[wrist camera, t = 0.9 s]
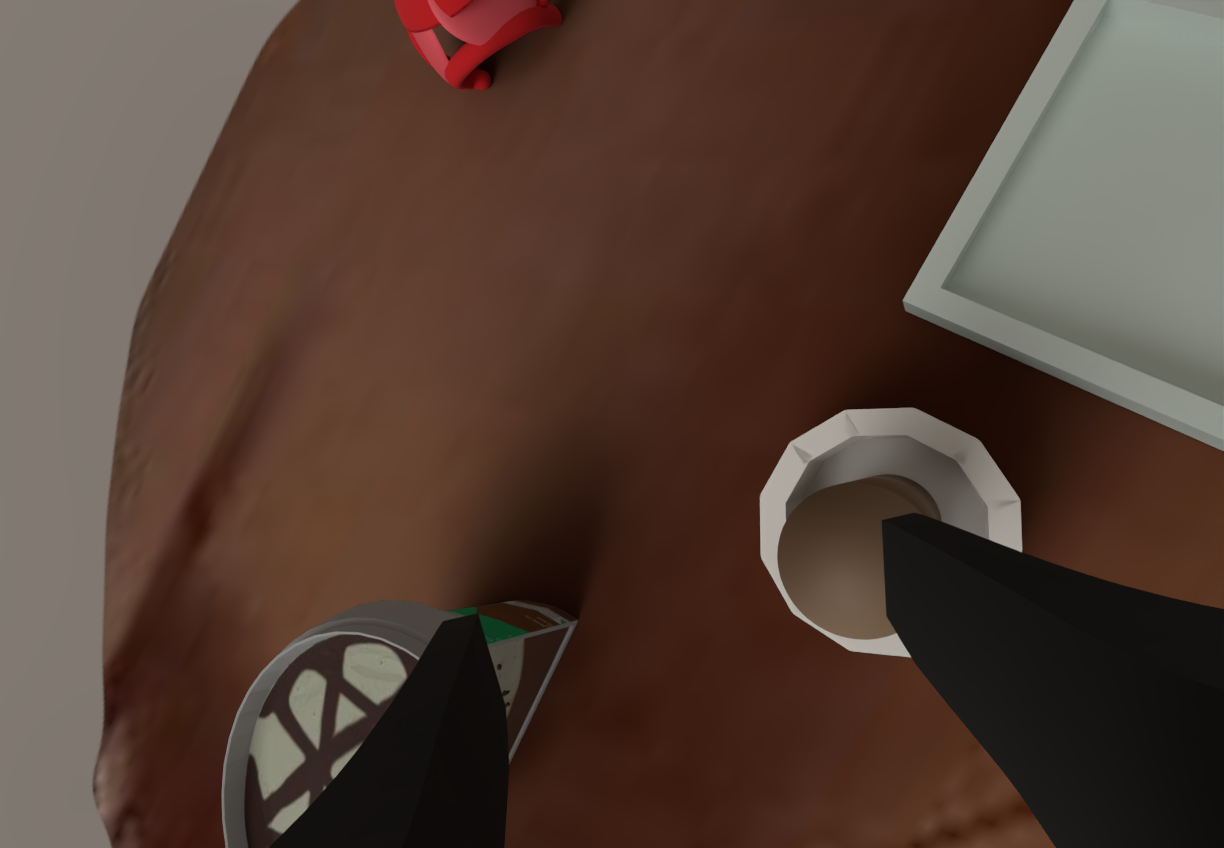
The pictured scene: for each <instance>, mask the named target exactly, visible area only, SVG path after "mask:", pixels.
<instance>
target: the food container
mask: <svg viewBox="0 0 1224 848" xmlns="http://www.w3.org/2000/svg"><path fill="white" fill-rule="evenodd" d="M476 613H478V614H479V618H480V621H481V625H482V628H483V631H484V635H485V638H486V641H487V645H488V648H489V652H490V655H491V658H492V662H493V665H494V668H495V672H496V675H497V678H498V682H499V685H500V689H501V692H502V695H503V699H504V702H505V705H506V716H507V731H508V748H509V764H510V762H511V760H512V758H513V756H514V754H515V752H516V750H517V748H518V746H519V743H520V741H521V739H522V737H523V735H524V733H525V731H526V729H527V727H528V725H529V723H530V720H531V718H532V716H533V714H534V712H535V710H536V708H537V706H538V704H539V702H540V700H541V697H542V695H543V693H544V691H545V689H546V687H547V685H548V683H549V681H550V679H551V677H552V674H553V672H554V670H555V668H556V666H557V664H558V662H559V660H560V658H561V656H562V654H563V651H564V649H565V647H566V645H567V643H568V641H569V639H570V637H571V635H572V633H573V631H574V628H575V626H576V624H577V622H578V619H577V618H575V617H573V616H571V615H570V614H568V613H566V612H564V611H563V610H561V609H559V608H557V607H556V606H551V605H547V604H543V603H538V602H534V601H529V600H525V599H522V600H515V601H508V602H501V603H494V604H487V605H481V606H475V607H468V608H462V609H455V610H449V611H441V610H439V609H436V608H434V607H431V606H428V605H424V604H419V603H414V602H409V601H392V600H381V601H376V602H371V603H366V604H361V605H358V606H355V607H353V608H351V609H348V610H346V611H344V612H341V613H339V614H337V615H335V616H334V617H332V618H330V619H328V620H326V621H325V622H323V623H321V624H319V625H317V626H316V627H314V628H312V629H310V630H309V631H307V632H306V633H304V634H303V635H301V636H300V637H298V638H297V639H295V640H294V641H292V642H291V643H290V644H289V645H288V646H287V647H286V648H285V649H284V650H283V651H282V652H281V653H280V654H279V655H278V656H276V657H275V658H274V659H273V660H272V661H271V662H270V663H269V664H268V666H267V667H266V668H265V669H264V670H263V671H262V672H261V673H260V674H259V676H258V677H257V679H256V680H255V682H254V683H253V684H252V686H251V687H250V689H249V690H248V692H247V694H246V696H245V698H244V700H243V702H242V704H241V706H240V708H239V710H238V712H237V715H236V718H235V721H234V724H233V727H232V730H231V733H230V736H229V740H228V746H227V751H226V756H225V761H224V769H223V781H222V821H223V829H224V837H225V845H226V848H269V847H270V846H271V845H272V844H273V843H274V842H275V841H276V840H277V839H278V838H279V837H280V836H281V835H282V834H283V833H284V832H285V831H286V830H287V829H288V828H289V827H290V826H291V825H292V824H293V823H294V822H295V821H296V820H297V819H298V818H299V817H300V816H301V815H302V814H303V813H304V812H305V811H306V809H307V808H308V807H309V806H310V805H311V804H312V803H313V802H314V801H315V800H316V799H317V797H318V796H319V795H320V794H321V793H322V792H323V791H324V789H325V788H326V787H327V786H328V785H329V784H330V783H331V781H332V780H333V779H334V778H335V777H336V776H337V775H338V773H339V772H340V771H341V770H342V769H343V767H344V766H345V765H346V764H347V762H348V761H349V760H350V759H351V757H352V756H353V755H354V754H355V752H356V751H357V750H358V748H359V747H360V746H361V744H362V743H363V742H364V740H365V739H366V737H367V736H368V735H369V733H370V732H371V731H372V729H373V728H374V727H375V725H376V724H377V722H378V721H379V720H380V718H381V717H382V715H383V714H384V713H385V711H386V710H387V708H388V707H389V705H390V704H391V702H392V701H393V699H394V697H395V696H396V694H397V693H398V691H399V690H400V688H401V687H402V685H403V684H404V682H405V681H406V679H407V678H408V676H409V674H410V673H411V671H412V670H413V668H414V666H415V665H416V663H417V662H418V660H419V658H420V657H421V655H422V653H423V652H424V650H425V648H426V647H427V645H428V643H429V642H430V640H431V639H432V637H433V635H434V634H435V632H436V631H437V629H438V627H439V626H440V625H441V623H442V622H443V621H445V620H450V619H454V618H459V617H463V616H467V615H472V614H476Z"/></svg>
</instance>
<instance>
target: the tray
mask: <svg viewBox="0 0 1224 848" xmlns="http://www.w3.org/2000/svg"><path fill="white" fill-rule="evenodd" d="M903 304H904V307H905V311H906V312H909V313H911V314H913V315H915V316H918V317H920V318H922V319H925V320H927V321H929V322H931V323H934V324H936V325H938V326H940V327H943V328H945V329H947V330H950V331H952V332H954V333H956V334H959V335H961V336H963V337H965V338H968V339H970V340H972V341H975V342H977V343H979V344H981V345H984V346H986V347H988V348H990V349H993V350H995V351H997V352H999V353H1002V354H1004V355H1006V356H1009V357H1011V358H1013V359H1015V360H1018V361H1020V362H1022V363H1024V364H1027V365H1029V366H1031V367H1034V368H1036V369H1038V370H1040V371H1043V372H1045V373H1047V374H1049V375H1052V376H1054V377H1056V378H1059V379H1061V380H1063V381H1065V382H1068V383H1070V384H1072V385H1074V386H1077V387H1079V388H1081V389H1083V390H1086V391H1088V392H1090V393H1093V394H1095V395H1097V396H1099V397H1102V398H1104V399H1106V400H1108V401H1111V402H1113V403H1115V404H1118V405H1120V406H1122V407H1124V408H1127V409H1129V410H1131V411H1133V412H1136V413H1138V414H1140V415H1142V416H1145V417H1147V418H1149V419H1152V420H1154V421H1156V422H1158V423H1161V424H1163V425H1165V426H1167V427H1170V428H1172V429H1174V430H1177V431H1179V432H1181V433H1183V434H1186V435H1188V436H1190V437H1192V438H1195V439H1197V440H1199V441H1202V442H1204V443H1206V444H1208V445H1211V446H1213V447H1215V448H1217V449H1220V450H1222V451H1224V0H1074V1H1073V3H1072V5H1071V7H1070V8H1069V10H1068V12H1067V14H1066V15H1065V17H1064V19H1063V21H1062V22H1061V24H1060V26H1059V28H1058V29H1057V31H1056V33H1055V35H1054V36H1053V38H1052V40H1051V42H1050V43H1049V45H1048V47H1047V49H1046V50H1045V52H1044V54H1043V56H1042V57H1041V59H1040V61H1039V63H1038V64H1037V66H1036V68H1035V70H1034V71H1033V73H1032V75H1031V77H1030V78H1029V80H1028V82H1027V84H1026V85H1025V87H1024V89H1023V91H1022V92H1021V94H1020V96H1019V98H1018V99H1017V101H1016V103H1015V105H1014V106H1013V108H1012V110H1011V112H1010V113H1009V115H1008V117H1007V119H1006V120H1005V122H1004V124H1003V126H1002V127H1001V129H1000V131H999V133H998V134H997V136H996V138H995V140H994V141H993V143H992V145H991V147H990V148H989V150H988V152H987V154H986V155H985V157H984V159H983V161H982V163H981V164H980V166H979V168H978V170H977V171H976V173H975V175H974V177H973V178H972V180H971V182H970V184H969V185H968V187H967V189H966V191H965V192H964V194H963V196H962V198H961V199H960V201H959V203H958V205H957V206H956V208H955V210H954V212H953V213H952V215H951V217H950V219H949V220H948V222H947V224H946V226H945V227H944V229H943V231H942V233H941V234H940V236H939V238H938V240H937V241H936V243H935V245H934V247H933V248H932V250H931V252H930V254H929V255H928V257H927V259H926V261H925V262H924V264H923V266H922V268H921V269H920V271H919V273H918V275H917V276H916V278H915V280H914V282H913V283H912V285H911V287H910V289H909V290H908V292H907V294H906V296H905V297H904V299H903Z"/></svg>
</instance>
